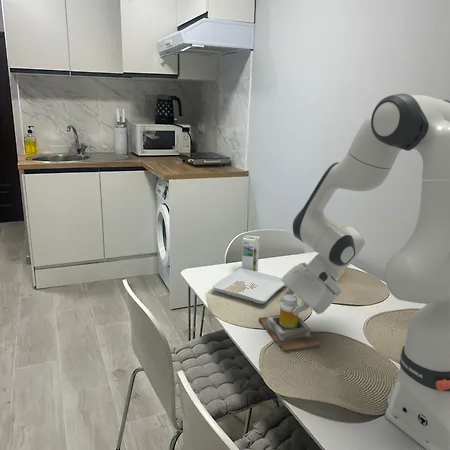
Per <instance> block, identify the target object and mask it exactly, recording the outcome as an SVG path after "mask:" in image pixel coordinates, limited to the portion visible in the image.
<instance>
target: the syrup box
mask: <svg viewBox="0 0 450 450" xmlns="http://www.w3.org/2000/svg"><path fill="white" fill-rule="evenodd" d="M260 237H261V236H256V235H255V236H253V235H249V234H247V235H244V237H243V238H242V253H241V256H242V257H241V268H243V269H247V270H252V271H256V272H258V270H259V255H260V254H259V253H260Z"/></svg>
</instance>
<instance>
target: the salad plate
mask: <svg viewBox="0 0 450 450" xmlns="http://www.w3.org/2000/svg"><path fill="white" fill-rule="evenodd" d="M282 278H283V277H279V276H275V275H273V274H272V275H271V274H267V273H263V272H260V271H257V272H256V271H252V270H247V269H243V268H242V267H240V268H238V269H236V270H235V271H233V272H232V273H230V274H229V275H227V276H226V277H224V278H222V279H221V280H219V281H218V282H216V283H215V284H214V285H212V288H213V289H214V290H215V291H217V292H219V293H221V292H222V293H221V294H225V293H226V295H228V294H229V295H228V296H231V295H232V296H231V297H234V296H236V297H235V298H237V297H239V298H238V299H241V298H243V299H242V300H244V299H246V300H245V301H248V300H249V301H248V302H251V301H253V302H252V303H255V302H256V304H266V302H267V301H269V299H270V298H271V297H273V296H274V295H275V294H276V293H277V292H279V291H280V290H281V289H283V288H284V287H285V286H286V285H285V284H284V283H283V282H282ZM236 281H239V282H240V281H241V282H242V281H244V282H245V283H244V282H243V283H244V284H245V285H246V286H245V287H247V288H249V289H247V288H246V289H245V290H243V291H244V292H242V291H241V292H239V293H236V292H232V291H228V290H223V289H225V288H227V287H229V286H230V285H233V283H235V282H236ZM251 283H252V284H253V283H254V284H255V285H257V286H258V287H257V286H255V285H254V284H253V285H254V287H256V288H254V287H253V289H251V288H250V287H249V286H251V285H252V284H251ZM250 284H251V285H250ZM234 285H235V284H234ZM234 285H233V286H234ZM241 285H242V284H241ZM247 285H248V286H247ZM251 287H252V286H251Z"/></svg>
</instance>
